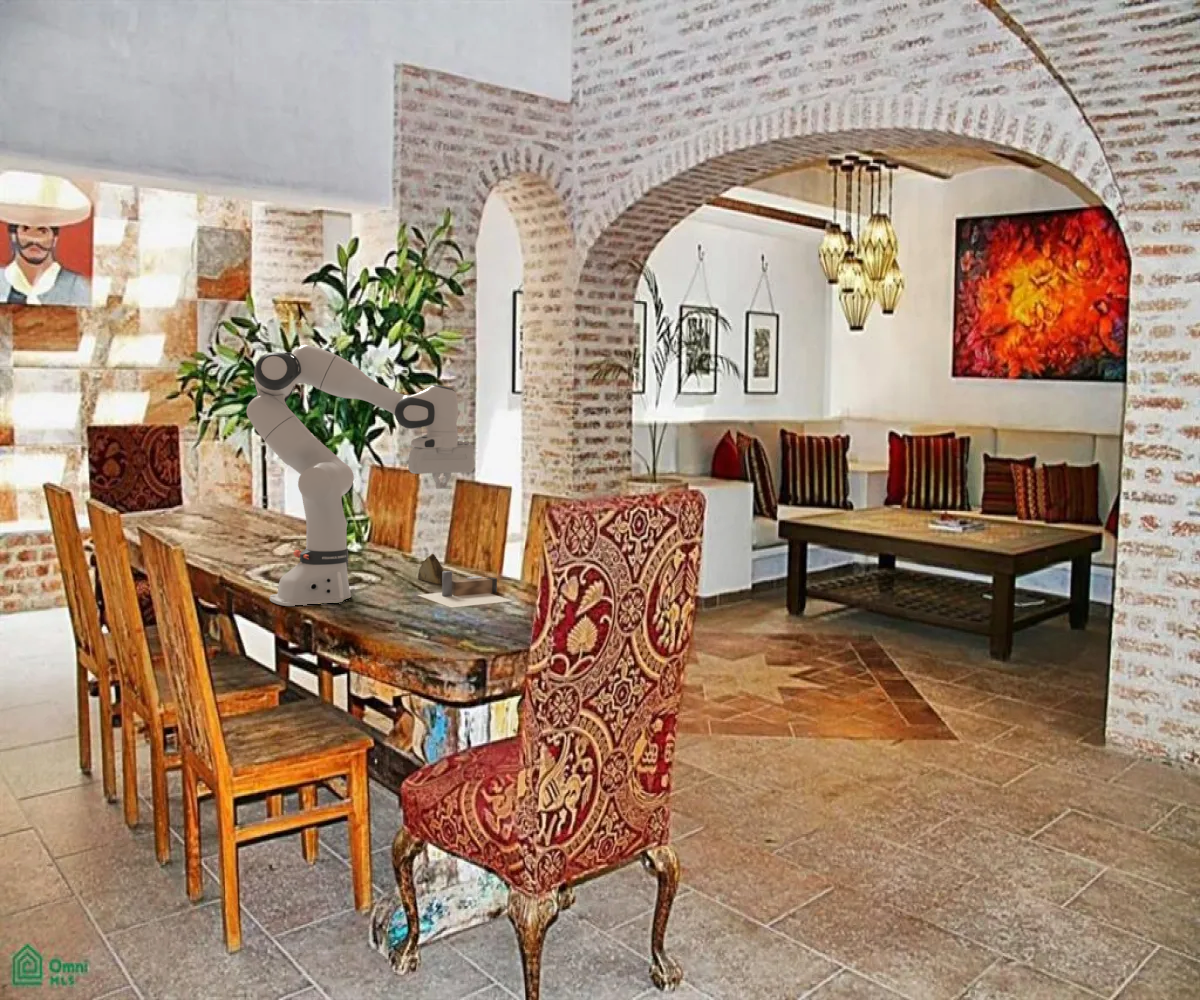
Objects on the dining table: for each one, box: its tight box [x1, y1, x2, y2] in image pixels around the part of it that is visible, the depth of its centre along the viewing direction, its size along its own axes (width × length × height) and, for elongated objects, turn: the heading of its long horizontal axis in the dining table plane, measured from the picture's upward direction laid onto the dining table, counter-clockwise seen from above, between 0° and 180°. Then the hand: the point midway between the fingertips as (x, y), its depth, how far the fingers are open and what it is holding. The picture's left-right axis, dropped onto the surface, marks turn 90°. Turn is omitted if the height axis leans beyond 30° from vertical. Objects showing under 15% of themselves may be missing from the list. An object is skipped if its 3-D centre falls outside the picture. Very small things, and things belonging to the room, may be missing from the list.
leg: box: [452, 577, 498, 596], centre depth 328 cm, size 14×3×4 cm, turn 124°
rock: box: [417, 553, 444, 585], centre depth 347 cm, size 11×9×10 cm
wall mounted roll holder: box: [417, 570, 513, 608], centre depth 321 cm, size 20×20×8 cm
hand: (441, 488), depth 328 cm, fingers closed
